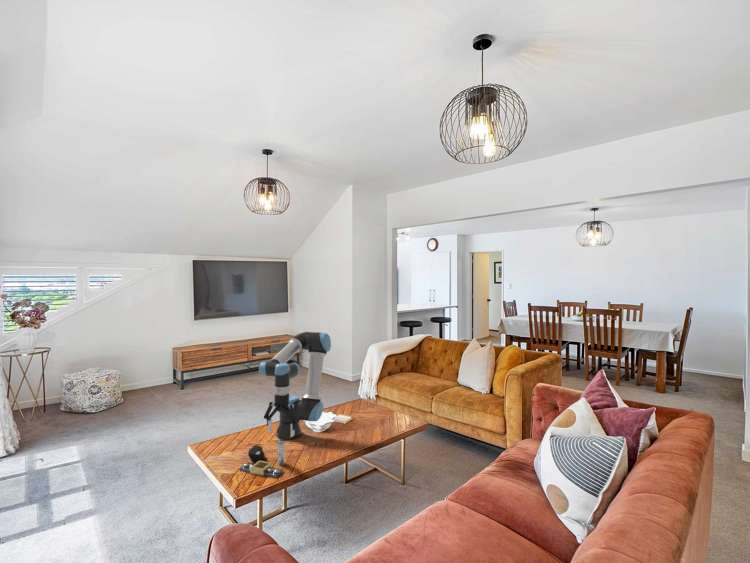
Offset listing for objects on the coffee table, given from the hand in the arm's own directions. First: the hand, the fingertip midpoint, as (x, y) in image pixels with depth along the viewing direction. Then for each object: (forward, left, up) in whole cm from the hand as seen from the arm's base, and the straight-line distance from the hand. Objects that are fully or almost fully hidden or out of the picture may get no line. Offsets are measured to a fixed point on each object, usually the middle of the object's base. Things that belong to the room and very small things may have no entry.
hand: (281, 434), depth 204 cm
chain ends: (+10, -5, -16) cm, 19 cm away
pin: (0, 0, -16) cm, 16 cm away
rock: (0, -16, -16) cm, 22 cm away
